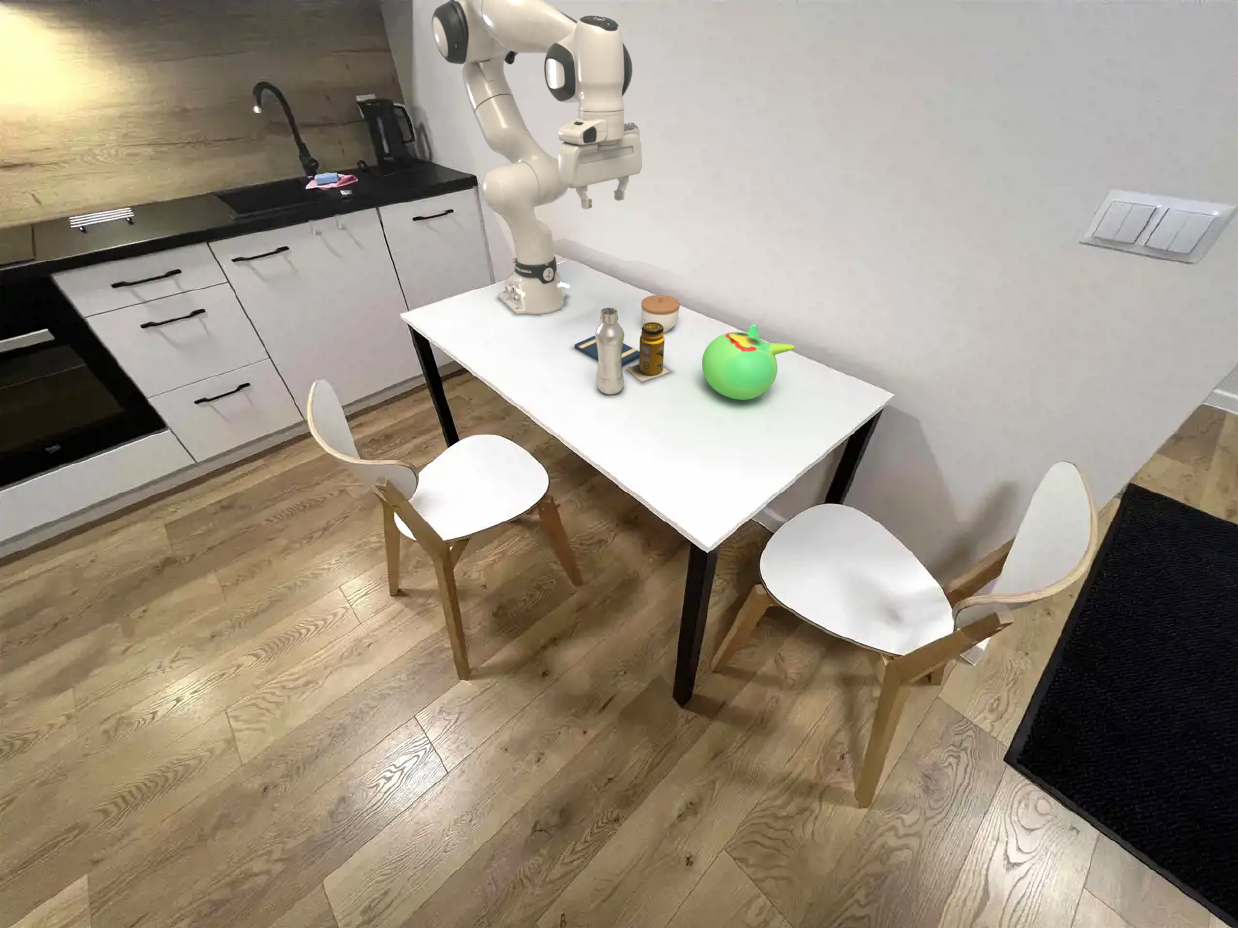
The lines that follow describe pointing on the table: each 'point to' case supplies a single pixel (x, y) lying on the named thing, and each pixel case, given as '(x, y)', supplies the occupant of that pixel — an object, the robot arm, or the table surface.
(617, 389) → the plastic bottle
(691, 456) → the table surface
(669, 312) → the trinket box
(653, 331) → the condiment
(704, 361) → the toy bird
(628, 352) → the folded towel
